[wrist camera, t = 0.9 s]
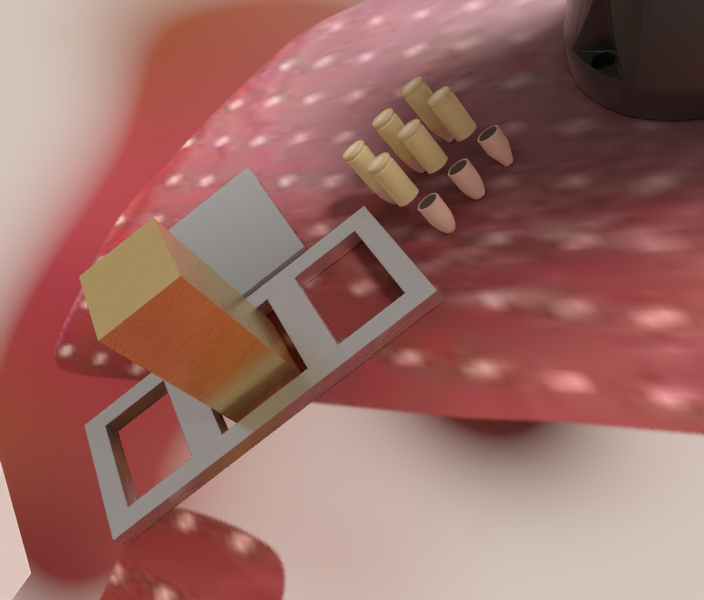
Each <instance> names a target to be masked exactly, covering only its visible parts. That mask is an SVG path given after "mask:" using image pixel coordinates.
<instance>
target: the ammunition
mask: <svg viewBox="0 0 704 600" xmlns="http://www.w3.org/2000/svg"><path fill="white" fill-rule="evenodd" d="M422 81H423V79H422V78H421V77H416V78H414V79H412V80H411V81H410V82H409V83H407V84H406V85H405V86H404V88H403V89H402V91H401V95H402V96H405V100H406V101H407V102H408V104H409V105H410V106H411V107H412V109H413V110H414V111H415V112H416V114H417V115H418V116H419V117H420V119H421V120H422V121H423V122H424V124H425V125H426V126H427V127H428V129H429V130H431V131H432V132H433V133H435V134H436V135H438V136H439V137H441V138H443V139H444V140H446V141H447V142H451V141H453V140H454V139H455V140H456V141H462V140H464V139H466V138H467V137H469V136H470V135H471V134H472V133H473V132H474V131H475V129H476V127H477V125H476V124H475V122H474V121H473V119H472V118H471V117H470V115H469V114H468V112H467V111H466V110H465V108H464V107H463V106H462V104H461V103H460V101H459V100H458V99H457V97H456V96H455V94H454V93H453V92H451V91H450V90H451V89H450V88H449V86H444V87H442V88H440V89H439V90H437V91H436V92H435V93H434V94H433V93H432V91H431V90H430V88H429V87H428V86H427V84H426V83H425V82H422ZM393 112H394V111H393V109H392V108H388V109H386V110H384V111H383V112H381V113H380V114H379V115H378V116H377V117H376V118H375V119H374V121H373V123H372V126H373V127H374V128H376V131H377V132H378V133H379V134H380V136H381V137H382V138H383V139H384V140H385V141H386V143H387V144H388V145H389V146H390V147H391V149H392V150H393V151H394V152H395V153H396V154H397V156H398V157H399V158H400V159H401V160H402V161H404V163H405V164H407V165H408V166H409V167H410V168H411V169H413V170H414V171H416V172H419V173H423V172H425V171H427V173H429V174H431V173H434V172H436V171H438V170H439V169H440V168H442V167H443V166H444V165H445V163H446V162H447V160H448V157H447V155H446V154H445V153H444V152H443V150H442V149H441V148H440V146H439V145H438V144H437V142H436V141H435V140H434V139H433V137H432V136H431V135H430V133H429V132H428V131H427V129H426V128H425V127H424V126H423V125H422V124H420V123H421V122H420V120H419V119H414V120H412V121H410V122H408V123H407V124H406V125H404V123H403V122H402V121H401V120H400V118H399V117H398V116H397V114H396V113H393ZM478 142H479V144H480V145H481V146H482V148H483V149H484V150H485V152H486V153H487V154H488V155H489V156H490V157H492V158H494V159H495V160H497V161H498V162H500V163H501V164H503V165H504V166H508V165H510V164H511V163H512V162H513V156H512V153H511V149H510V145H509V141H508V139H507V138H506V136H505V135H504V134H503V132H502V131H501V129H500V128H499V127H498V125H493V126H491V127H489V128H487V129H486V130H485V131H483V132H482V133H481V134H480V136H479V137H478ZM343 159H344V160H347V163H348V164H349V165H350V166H351V168H352V169H353V170H354V171H355V172H356V173H357V174H358V175H359V176H360V178H361V179H362V180H363V181H364V182H365V183H366V184H367V185H368V186H369V188H370V189H371V190H372V191H373V192H374V193H376V194H377V195H378V196H379V197H380V198H382V199H383V200H385V201H386V202H388V203H391V204H398V205H399V206H400V207H402V206H405V205H407V204H409V203H410V202H411V201H412V200H413V199H414V198H415V197H416V196H417V194H418V191H419V190H418V188H417V187H416V186H415V185H414V184H413V182H412V181H411V180H410V179H409V178H408V176H407V175H406V174H405V173H404V171H403V170H402V169H401V168H400V167H399V165H398V164H397V163H396V162H395V161H394V159H393V158H391V157H390V154H389V153H388V152H384V153H382V154H380V155H378V156H377V157H376V156H375V155H374V154H373V153H372V152H371V150H370V149H369V148H368V147H367V146H366V145H364V142H363V141H362V140H358V141H356V142H354V143H353V144H352V145H351V146H350V147H348V149H347V150H346V151H345V152H344V154H343ZM448 176H449V177H450V178H451V179H452V181H453V182H454V183H455V184H456V186H457V187H458V188H459V189H460V190H461V191H462V192H463V193H465V194H466V195H467V196H469V197H471V198H473V199H476V200H477V199H480V198H481V197H482V196H483V195H484V194H485V188H484V184H483V181H482V179H481V177H480V175H479V174H478V172H477V171H476V169H475V168H474V167H473V165H472V164H471V163H470V162H469V160H468V159H462V160H460V161H458V162H457V163H455V164H454V165H453V166H452V167H451V168H450V170H449V172H448ZM418 210H419V211H420V213H421V214H422V215H423V216H424V217H425V218H426V220H427V221H428V222H429V223H430V224H431V225H432V226H434V227H435V228H436V229H438V230H440V231H442V232H444V233H452V232H453V231H454V230H455V220H454V217H453V215H452V213H451V211H450V209H449V208H448V206H447V205H446V204H445V202H444V201H443V200H442V199H441V198H440V196H439V195H438V194H437V193H432V194H430V195H428V196H426V197H425V198H424V199H423V200H422V201H421V202H420V204H419V205H418Z"/></svg>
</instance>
